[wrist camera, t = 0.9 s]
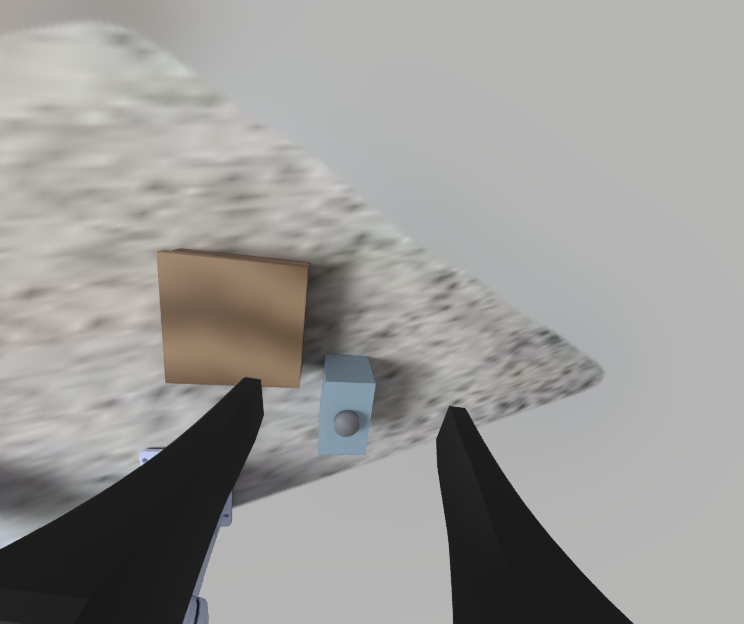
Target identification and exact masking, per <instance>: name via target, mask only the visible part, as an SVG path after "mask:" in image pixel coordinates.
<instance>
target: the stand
mask: <svg viewBox="0 0 744 624" xmlns="http://www.w3.org/2000/svg"><path fill="white" fill-rule="evenodd" d="M157 263H158V278H159V293H160V308H161V323H162V338H163V353H164V368H165V382H166V383H178V384H205V385H231V386H235V385H236V384H238V383H239V382H240V381H241V380H242V379H243V378H244V377H249V378H256V379H261V385H262V387H284V388H299V386H300V377H301V370H302V360H303V350H302V348H303V334H304V321H305V307H306V293H307V285H308V279H309V266H310V262H300V261H291V260H282V259H272V258H263V257H254V256H244V255H235V254H226V253H217V252H207V251H198V250H189V249H176V250H172V251H169V250H162V251H158V252H157Z"/></svg>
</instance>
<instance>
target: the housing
mask: <svg viewBox="0 0 744 624" xmlns="http://www.w3.org/2000/svg"><path fill="white" fill-rule="evenodd" d="M375 386H376V383H375V379H374V376H373V372H372V369H371V366H370V362H369V359H368V356H350V355H332V354H325V360H324V371H323V381H322V392H321V402H320V412H319V440H318V455H365V452H366V445H367V438H368V432H369V425H370V419H371V412H372V406H373V399H374V393H375Z"/></svg>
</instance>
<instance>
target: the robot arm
mask: <svg viewBox="0 0 744 624" xmlns="http://www.w3.org/2000/svg"><path fill="white" fill-rule="evenodd" d="M263 416H264V410H263V398H262V385H261V379H256V378H249V377H244V378H243V379H242V380H241V381H240V382H239V383H238V384H236V385H235V386H234V387H233V388H232V389H231V390H230V391H229V392H228V393H227V394H226V395H225V396H224V397H223V398H222V399H221V400H220V401H219V402H218V403H217V404H216V405H215V406H214V407H213V408H212V409H210V410H209V411H208V412H207V413H206V414H205V415H204V416H203V417H202V418H200V419H199V420H198V421H197V422H196V423H195V424H194V425H193V426H191V427H190V428H189V429H188V430H186V431H185V432H184V433H183V434H182V435H180V436H179V437H178V438H177V439H176V440H174V441H173V442H172V443H171V444H169V445H168V446H167V447H166V448H164V449H144V450H142V451H141V452H140V454H139V461H140V467H139V468H137V469H136V470H134V471H133V472H131V473H130V474H128V475H127V476H125V477H124V478H122V479H121V480H119V481H118V482H116V483H115V484H113V485H112V486H110V487H109V488H107V489H106V490H104V491H103V492H101V493H99V494H98V495H96V496H94V497H93V498H91V499H89V500H88V501H86V502H84V503H83V504H81V505H79V506H78V507H76V508H74V509H73V510H71V511H69V512H68V513H66V514H64V515H63V516H61V517H59V518H57V519H56V520H54V521H52V522H50V523H48V524H47V525H45V526H43V527H41V528H39V529H37V530H35V531H34V532H32V533H30V534H28V535H26V536H24V537H22V538H21V539H19V540H17V541H15V542H13V543H11V544H10V545H8V546H6V547H4V548H2V549H0V624H208V621H209V616H208V605H207V601H206V599H204V598H201V597H198V595H199V592H200V589H201V585H202V582H203V578H204V574H205V571H206V568H207V565H208V562H209V559H210V556H211V553H212V550H213V547H214V544H215V541H216V538H217V535H218V531H219V528H220V526H229V525H230V524H231V522H232V489H233V487H234V485H235V483H236V481H237V478H238V476H239V474H240V472H241V470H242V468H243V466H244V464H245V462H246V459H247V457H248V455H249V453H250V451H251V449H252V447H253V444H254V442H255V440H256V437H257V434H258V431H259V428H260V425H261V422H262V419H263ZM436 447H437V468H438V475H439V481H440V488H441V495H442V500H443V507H444V513H445V520H446V527H447V534H448V542H449V555H450V570H451V587H452V605H453V624H633V623H632V622H631V621H630V620H629V619H628V618H627V617H626V616H625V615H624V614H623V613H622V612H621V611H620V610H619V609H618V608H617V607H615V606H614V604H612V602H611V601H609V600H608V599H607V598H606V597H605V596H604V595H603V593H602V592H600V590H598V588H597V587H596V586H595V585H594V584H593V583H592V582H591V581H590V580H589V579H588V578H587V577H586V576H585V575H584V574H583V573H582V572H581V570H580V569H579V568H578V567H577V566H576V565H575V564H574V563H573V561H572V560H571V559H570V558H569V557H568V556H567V555H566V554H565V552H564V551H563V550H562V549H561V548H560V547H559V546H558V544H557V543H556V542H555V541H554V540H553V539H552V538H551V536H550V535H549V534H548V533H547V532H546V530H545V529H544V528H543V527H542V525H541V524H540V523H539V522H538V520H537V519H536V518H535V516H534V515H533V514H532V513H531V511H530V510H529V509H528V507H527V506H526V505H525V503H524V502H523V501H522V499H521V498H520V496H519V495H518V494H517V492H516V491H515V489H514V488H513V486H512V485H511V483H510V482H509V481H508V479H507V478H506V476H505V475H504V473H503V472H502V470H501V468H500V467H499V465H498V464H497V462H496V460H495V459H494V457H493V456H492V454H491V452H490V451H489V449H488V447H487V446H486V444H485V443H484V441H483V439H482V437H481V435H480V434H479V432H478V430H477V428H476V426H475V425H474V423H473V421H472V419H471V417H470V416H469V414H468V412H467V410H466V409H465V408H460V407H453V406H449V408H448V410H447V413H446V415H445V418H444V421H443V423H442V426H441V428H440V431H439V433H438V436H437V439H436ZM145 458H146V459H148V460H146V459H145Z"/></svg>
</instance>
